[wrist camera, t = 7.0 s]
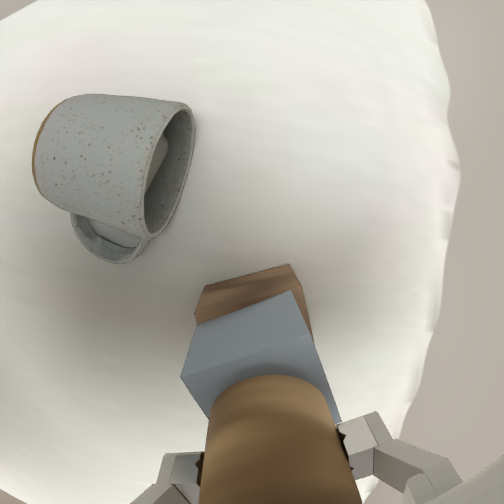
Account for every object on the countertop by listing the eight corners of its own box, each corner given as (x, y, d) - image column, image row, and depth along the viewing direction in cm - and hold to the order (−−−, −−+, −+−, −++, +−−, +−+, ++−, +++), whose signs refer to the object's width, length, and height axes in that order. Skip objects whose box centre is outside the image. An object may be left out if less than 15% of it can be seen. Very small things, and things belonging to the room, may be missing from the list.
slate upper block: (236, 396, 17) (234, 454, 12) (196, 325, 16) (180, 376, 11) (320, 367, 17) (341, 421, 12) (290, 289, 16) (309, 332, 11)
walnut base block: (229, 356, 22) (226, 396, 17) (205, 285, 21) (193, 313, 16) (305, 337, 22) (320, 374, 17) (288, 263, 21) (302, 286, 16)
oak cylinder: (229, 461, 11) (226, 551, 6) (192, 388, 10) (168, 495, 5) (333, 440, 11) (361, 528, 6) (319, 360, 10) (362, 465, 5)
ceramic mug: (99, 105, 18) (39, 77, 10) (203, 120, 19) (178, 86, 11) (71, 242, 20) (8, 269, 13) (167, 270, 21) (129, 315, 13)
